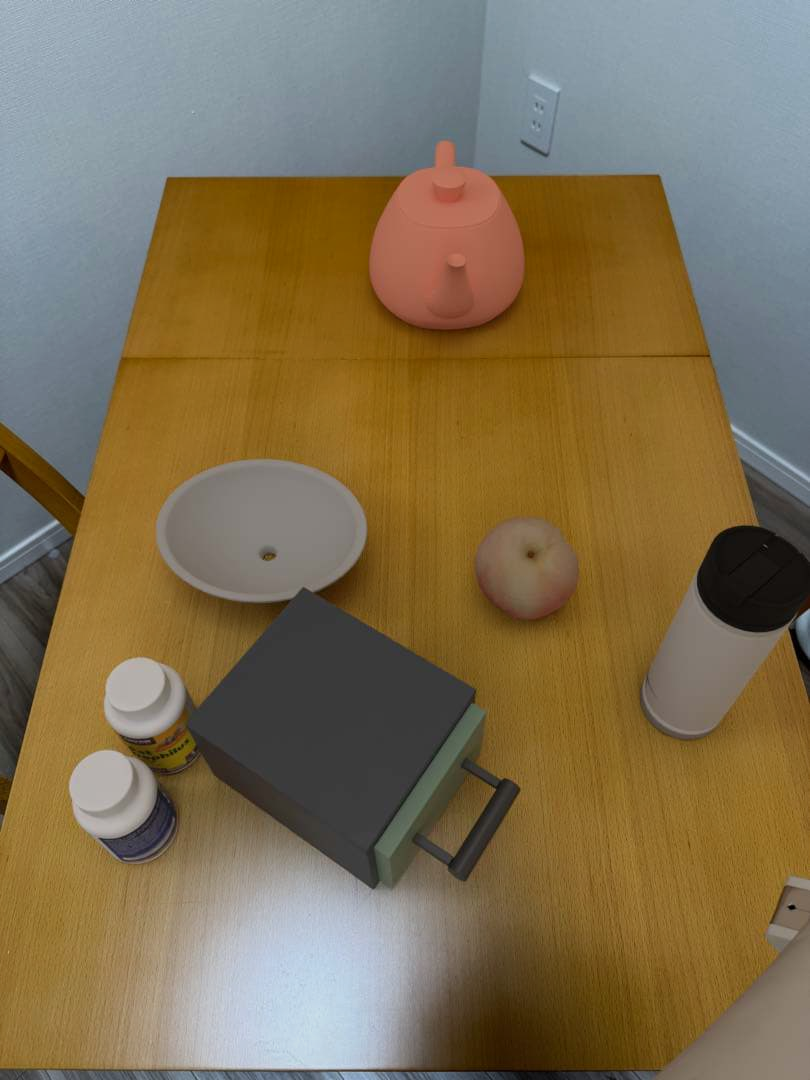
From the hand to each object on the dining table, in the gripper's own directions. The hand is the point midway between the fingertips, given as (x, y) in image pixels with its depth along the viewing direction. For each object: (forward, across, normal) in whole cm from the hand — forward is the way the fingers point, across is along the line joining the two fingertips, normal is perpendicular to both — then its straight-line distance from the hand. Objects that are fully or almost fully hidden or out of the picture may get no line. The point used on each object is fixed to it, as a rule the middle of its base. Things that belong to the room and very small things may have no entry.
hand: (781, 914), depth 38 cm
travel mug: (+20, -19, +9) cm, 29 cm away
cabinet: (+34, -1, -4) cm, 34 cm away
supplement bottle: (+42, +5, -13) cm, 44 cm away
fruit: (+31, -21, -2) cm, 37 cm away
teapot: (+48, -50, -21) cm, 73 cm away
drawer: (+30, -1, -2) cm, 30 cm away
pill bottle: (+40, +11, -11) cm, 43 cm away
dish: (+45, -12, -16) cm, 49 cm away
